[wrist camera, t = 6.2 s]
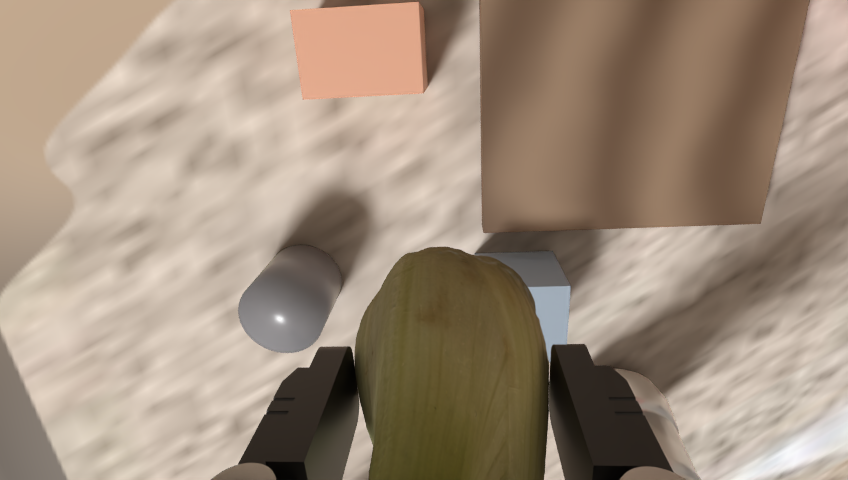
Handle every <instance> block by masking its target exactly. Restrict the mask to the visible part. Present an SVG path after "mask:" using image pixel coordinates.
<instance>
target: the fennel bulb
mask: <svg viewBox="0 0 848 480" xmlns="http://www.w3.org/2000/svg"><path fill="white" fill-rule="evenodd" d="M355 374H356V381H357V387H358V393H359V398H360V403H361V406H362V410H363V414H364V418H365V422H366V427H367V430H368V432H369V435H370V438H371V441H372V444H373V452H372V458H371V464H370V470H369V479H368V480H544V473H545V457H546V444H547V430H548V414H549V360H548V356H547V350H546V343H545V340H544V335H543V332H542V329H541V325H540V320H539V318H538V317H537V315H536V307H535V301H534V298H533V296H532V294H531V292H530V290H529V288H528V287H527V285H526V284H525V283H524V281H523V280H522V278H521V276H520V275H519V274H518V273H517V272H516V271H514V270H513V269H512V268H510V267H509V266H507V265H506V264H504V263H502V262H501V261H499V260H497V259H495V258H493V257H489V256H482V255H480V256H476V255H471V254H468V253H465V252H463V251H462V250H459V249H454V248H450V247H430V248H426V249H424V250H421V251H419V252H413V253H407V254H405V255H404V256H403V257H401V259H399V261H398V262H397V263H396V264H395V265H394V266H393V268H392V269H391V271H390V272H389V274H388V275H387V277H386V279H385V281H384V283H383V285H382V287H381V289H380V291H379V292H378V293H377V294H376V296H375V297H374V299H373V300H372V302H371V303H370V305H369V306H368V307H367V309H366V311H365V313H364V315H363V318H362V320H361V323H360V327H359V330H358V333H357V337H356V345H355Z"/></svg>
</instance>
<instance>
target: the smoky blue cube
mask: <svg viewBox="0 0 848 480" xmlns="http://www.w3.org/2000/svg"><path fill="white" fill-rule="evenodd" d="M475 255H476V256H480V255H482V256H489V257H493V258H495V259H497V260H499V261H501V262H502V263H504V264H506V265H507V266H509V267H510V268H512V269H513V270H514V271H516V272H517V273H518V274H519V275H520V276H521V278H522V280H523V281H524V283H525V284H526V285H527V287H528V288H529V290H530V292H531V294H532V296H533V298H534V301H535V307H536V315H537V317H538V318H539V320H540V325H541V329H542V332H543V335H544V340H545V343H546V350H547V356H548V360H549V362H550V358H551V347H552V345H553V344H567V334H568V319H569V304H570V288H571V286H570V284H569V282H568V280H567V278H566V276H565V274H564V272H563V270H562V268H561V266H560V264H559V262H558V260H557V259H556V257H555V255H554V253H553V251H536V252H503V253H475Z"/></svg>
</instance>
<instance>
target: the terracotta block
mask: <svg viewBox="0 0 848 480" xmlns="http://www.w3.org/2000/svg"><path fill="white" fill-rule="evenodd" d="M290 14H291V21H292V28H293V35H294V42H295V49H296V56H297V63H298V69H299V76H300V83H301V90H302V97H303V100H305V99H324V98H343V97H362V96H381V95H400V94H419V93H424V92H425V90H426V89H427V87H428V84H427V63H426V43H425V23H424V9H423V8H422V6H421V5H420V3H419V2H408V3H393V4H377V5H362V6H347V7H332V8H317V9H302V10H290Z"/></svg>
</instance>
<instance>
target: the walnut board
mask: <svg viewBox="0 0 848 480" xmlns="http://www.w3.org/2000/svg"><path fill="white" fill-rule="evenodd" d="M809 1H810V0H479V10H480V94H481V178H482V227H483V233H497V232H527V231H557V230H587V229H617V228H646V227H676V226H706V225H736V224H761V220H762V215H763V210H764V206H765V201H766V197H767V192H768V188H769V183H770V179H771V174H772V169H773V165H774V160H775V156H776V151H777V147H778V142H779V138H780V133H781V129H782V124H783V119H784V115H785V110H786V106H787V101H788V97H789V92H790V88H791V83H792V78H793V74H794V69H795V65H796V60H797V56H798V51H799V47H800V42H801V37H802V33H803V28H804V24H805V19H806V15H807V10H808V6H809Z"/></svg>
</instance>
